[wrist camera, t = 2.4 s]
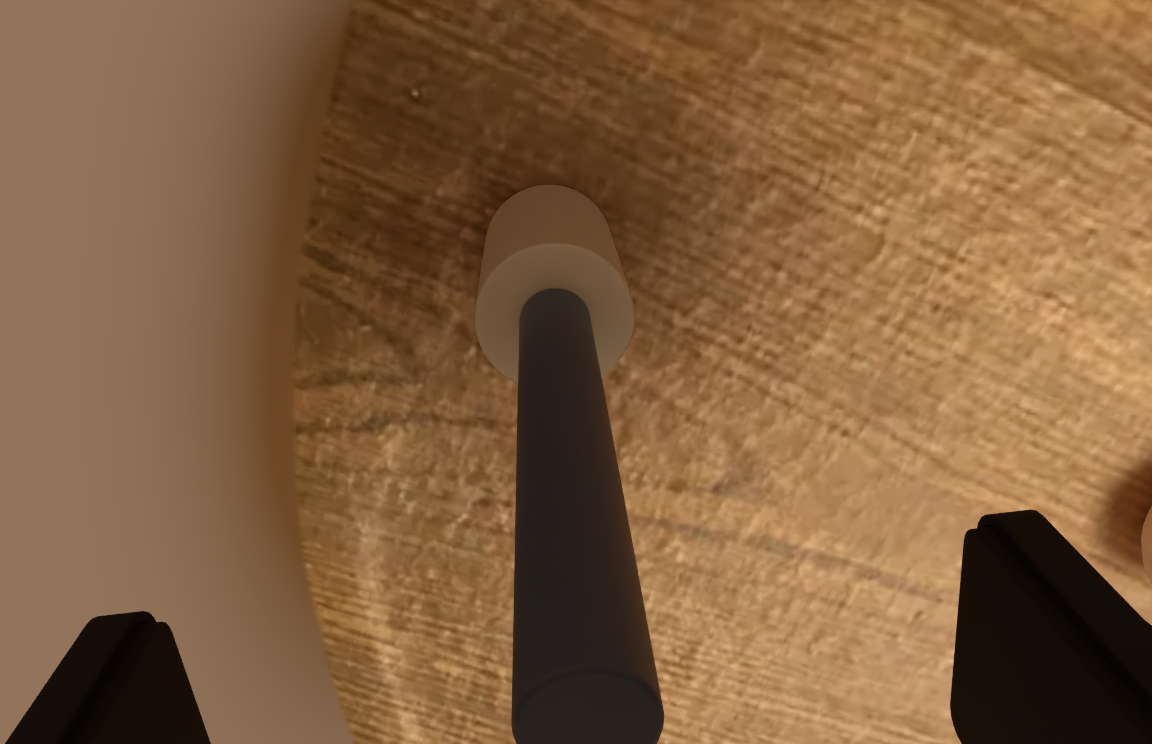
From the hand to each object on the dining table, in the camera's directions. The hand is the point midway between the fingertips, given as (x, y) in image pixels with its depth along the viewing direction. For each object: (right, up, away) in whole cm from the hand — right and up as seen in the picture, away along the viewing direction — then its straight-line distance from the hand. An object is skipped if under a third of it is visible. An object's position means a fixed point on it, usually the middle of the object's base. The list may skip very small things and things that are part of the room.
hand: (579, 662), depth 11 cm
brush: (-1, +7, +15) cm, 17 cm away
